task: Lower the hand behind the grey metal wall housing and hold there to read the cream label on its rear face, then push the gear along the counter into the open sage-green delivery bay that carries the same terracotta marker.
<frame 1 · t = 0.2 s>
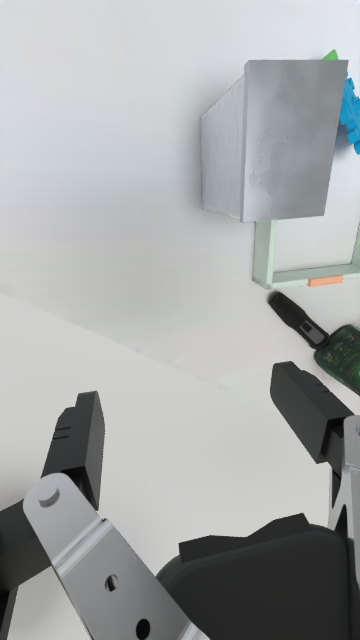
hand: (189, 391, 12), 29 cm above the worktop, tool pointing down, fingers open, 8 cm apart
gear: (325, 114, 35), on the worktop
bay: (311, 229, 40), on the worktop
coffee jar: (337, 347, 51), on the worktop
housing: (228, 164, 35), on the worktop
electric trimmer: (295, 319, 47), on the worktop
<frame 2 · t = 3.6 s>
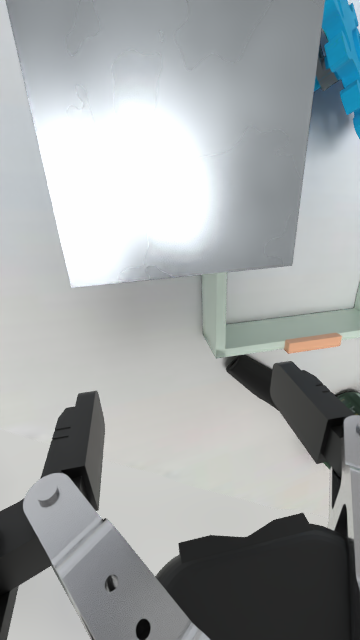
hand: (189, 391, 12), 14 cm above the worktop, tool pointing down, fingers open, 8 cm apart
gear: (307, 72, 20), on the worktop
bay: (291, 259, 26), on the worktop
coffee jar: (333, 416, 37), on the worktop
housing: (144, 153, 20), on the worktop
electric trimmer: (269, 386, 33), on the worktop
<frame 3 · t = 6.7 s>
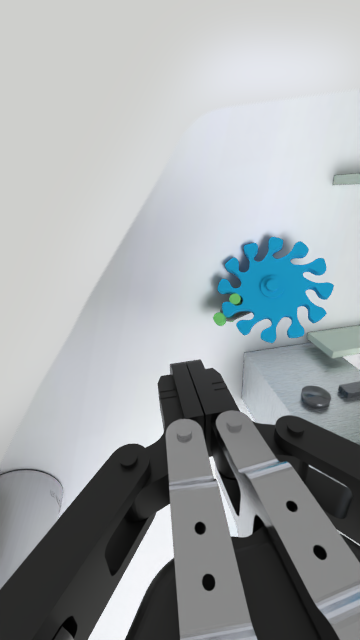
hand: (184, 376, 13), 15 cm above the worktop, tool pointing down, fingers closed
gear: (249, 280, 29), on the worktop
housing: (280, 370, 35), on the worktop
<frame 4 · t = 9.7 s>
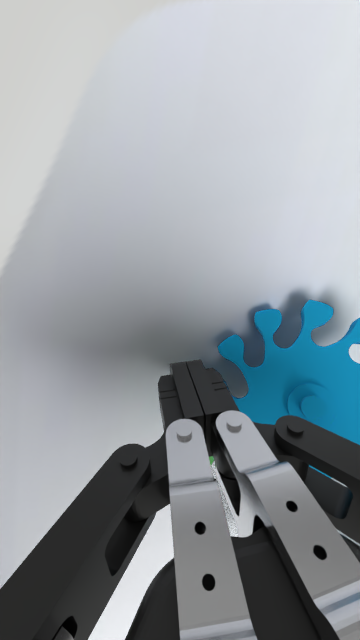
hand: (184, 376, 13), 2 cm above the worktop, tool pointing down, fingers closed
gear: (261, 363, 16), on the worktop, touching gripper
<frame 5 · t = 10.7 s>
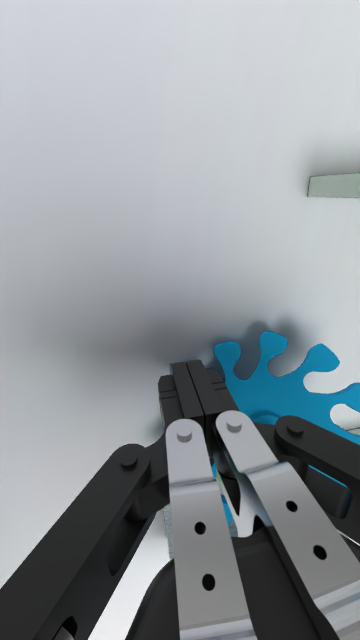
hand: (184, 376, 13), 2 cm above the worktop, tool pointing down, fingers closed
gear: (231, 388, 17), on the worktop, touching gripper
housing: (228, 498, 21), on the worktop
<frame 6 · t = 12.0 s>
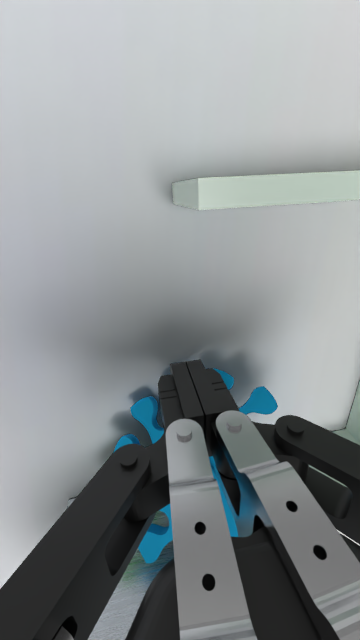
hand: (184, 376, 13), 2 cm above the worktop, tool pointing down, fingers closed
gear: (183, 416, 17), on the worktop, touching gripper
bay: (282, 346, 16), on the worktop
housing: (149, 514, 20), on the worktop
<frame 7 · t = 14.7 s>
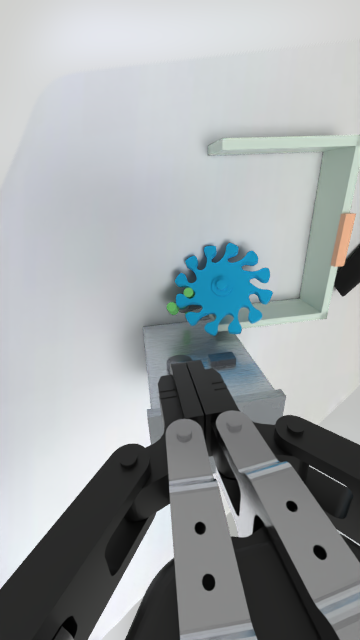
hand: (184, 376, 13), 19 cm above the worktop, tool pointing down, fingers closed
gear: (207, 279, 32), on the worktop
bay: (260, 237, 30), on the worktop
housing: (184, 346, 35), on the worktop
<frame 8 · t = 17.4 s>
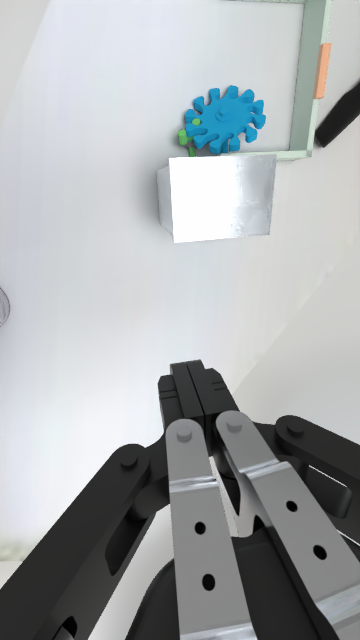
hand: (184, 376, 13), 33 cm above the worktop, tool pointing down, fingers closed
gear: (211, 127, 38), on the worktop
bay: (254, 86, 36), on the worktop
housing: (191, 196, 41), on the worktop
electric trimmer: (353, 100, 40), on the worktop
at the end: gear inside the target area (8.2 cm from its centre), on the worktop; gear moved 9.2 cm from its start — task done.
